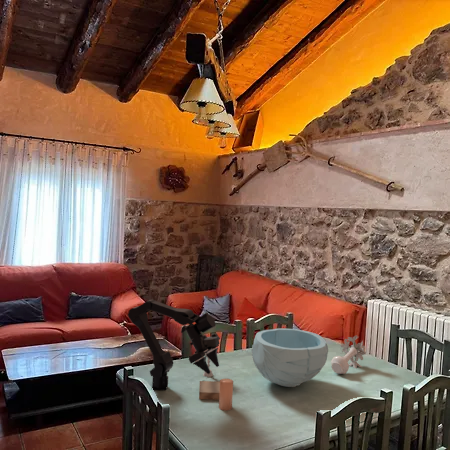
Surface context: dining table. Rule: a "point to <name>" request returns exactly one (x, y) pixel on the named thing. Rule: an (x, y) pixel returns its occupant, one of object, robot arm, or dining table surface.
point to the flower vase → (348, 356)
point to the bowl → (289, 355)
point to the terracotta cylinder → (225, 394)
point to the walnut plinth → (209, 390)
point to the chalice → (208, 367)
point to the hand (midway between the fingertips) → (213, 369)
